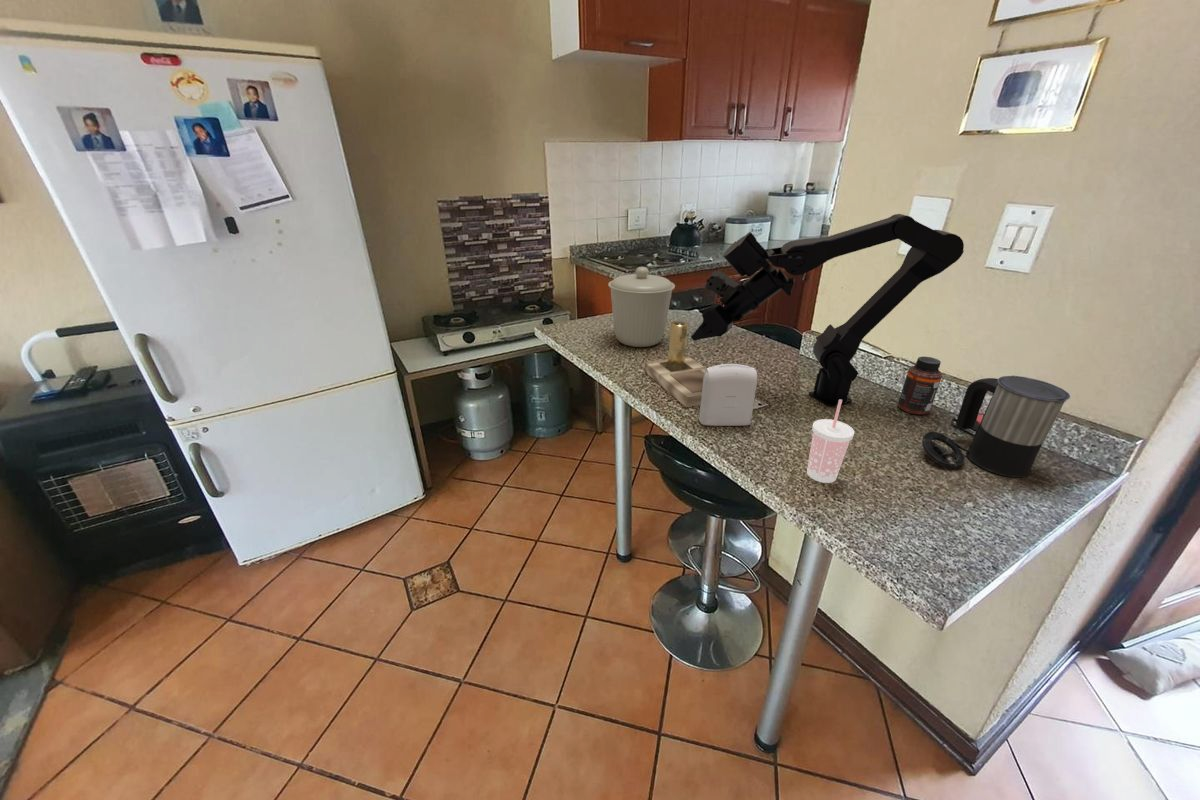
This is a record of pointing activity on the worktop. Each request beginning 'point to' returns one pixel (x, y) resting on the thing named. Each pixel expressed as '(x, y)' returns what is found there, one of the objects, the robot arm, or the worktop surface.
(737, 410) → the photo printer
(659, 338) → the canister
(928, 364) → the supplement bottle
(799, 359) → the worktop surface
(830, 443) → the beverage cup
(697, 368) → the jig plate
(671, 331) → the cylinder
